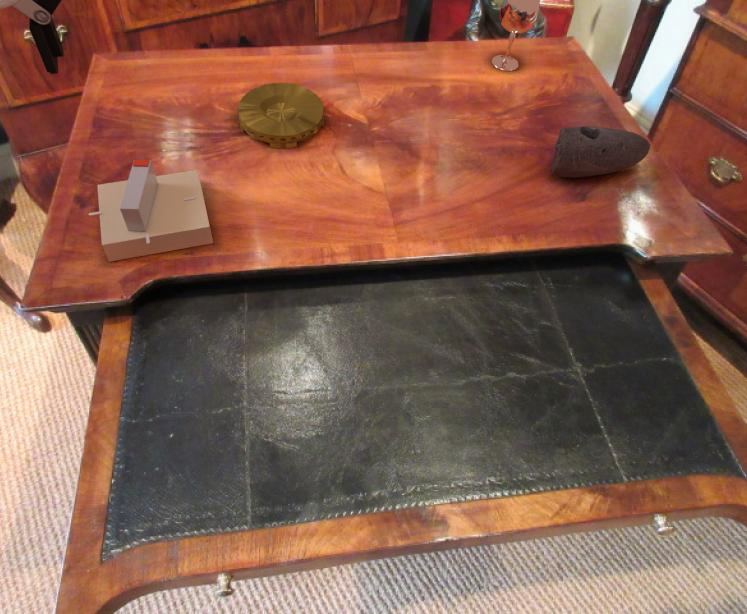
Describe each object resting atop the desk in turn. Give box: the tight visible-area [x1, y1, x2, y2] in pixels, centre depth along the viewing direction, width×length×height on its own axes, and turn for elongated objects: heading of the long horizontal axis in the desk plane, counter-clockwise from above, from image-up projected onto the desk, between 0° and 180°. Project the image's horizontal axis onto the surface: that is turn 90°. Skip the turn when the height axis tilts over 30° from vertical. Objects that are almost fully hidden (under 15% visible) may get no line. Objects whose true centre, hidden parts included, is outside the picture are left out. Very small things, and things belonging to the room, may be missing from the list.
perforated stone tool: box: [551, 125, 651, 179], centre depth 83 cm, size 15×5×7 cm, turn 98°
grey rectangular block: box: [120, 158, 158, 231], centre depth 70 cm, size 8×2×4 cm, turn 2°
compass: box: [237, 82, 325, 149], centre depth 86 cm, size 12×12×2 cm
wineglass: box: [491, 0, 541, 72], centre depth 95 cm, size 6×6×12 cm
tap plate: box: [88, 169, 214, 262], centre depth 73 cm, size 13×12×3 cm
